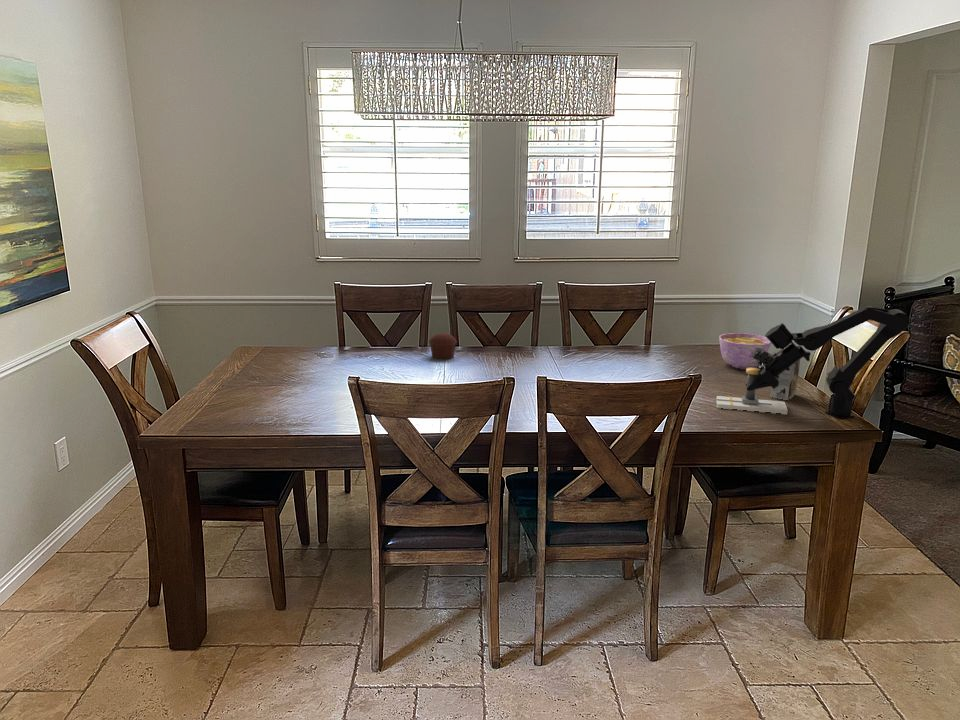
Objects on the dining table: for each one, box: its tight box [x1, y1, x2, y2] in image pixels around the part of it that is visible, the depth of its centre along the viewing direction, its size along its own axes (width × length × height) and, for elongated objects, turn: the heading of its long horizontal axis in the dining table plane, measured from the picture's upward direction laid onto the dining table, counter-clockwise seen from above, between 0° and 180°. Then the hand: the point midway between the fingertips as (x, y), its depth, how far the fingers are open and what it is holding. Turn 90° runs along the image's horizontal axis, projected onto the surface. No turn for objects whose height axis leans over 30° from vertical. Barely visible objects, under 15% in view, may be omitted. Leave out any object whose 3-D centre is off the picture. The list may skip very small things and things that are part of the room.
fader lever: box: [741, 367, 760, 404], centre depth 245 cm, size 5×4×11 cm
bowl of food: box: [718, 332, 772, 370], centre depth 294 cm, size 20×20×12 cm
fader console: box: [715, 395, 788, 415], centre depth 247 cm, size 22×9×2 cm, turn 74°
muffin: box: [428, 332, 458, 361], centre depth 306 cm, size 12×11×10 cm
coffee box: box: [769, 349, 801, 401], centre depth 257 cm, size 9×6×16 cm
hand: (746, 387), depth 246 cm, fingers open, 4 cm apart
